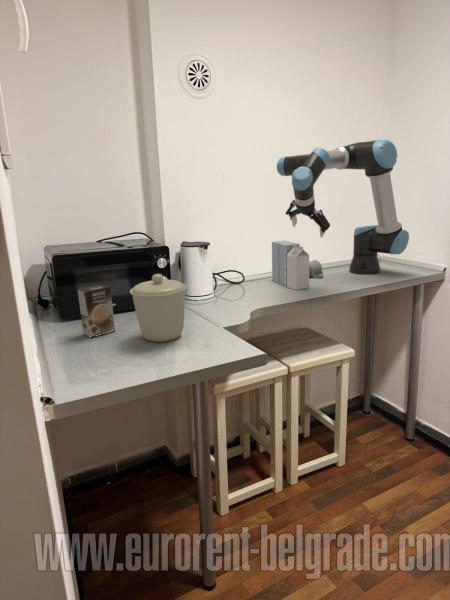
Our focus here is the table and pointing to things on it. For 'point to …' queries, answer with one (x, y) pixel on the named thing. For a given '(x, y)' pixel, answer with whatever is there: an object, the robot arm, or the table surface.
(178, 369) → the table surface
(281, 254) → the pack
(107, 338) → the table surface
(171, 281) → the canister
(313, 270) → the grey skull
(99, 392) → the table surface
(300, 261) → the milk carton
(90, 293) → the coffee box
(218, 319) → the table surface
